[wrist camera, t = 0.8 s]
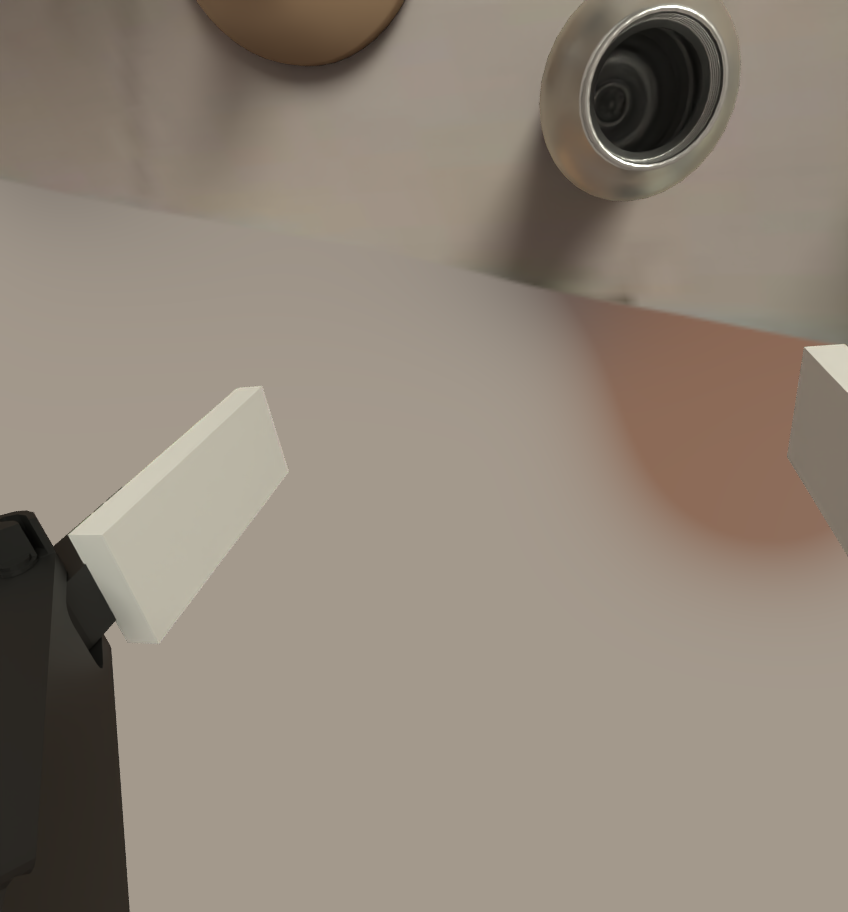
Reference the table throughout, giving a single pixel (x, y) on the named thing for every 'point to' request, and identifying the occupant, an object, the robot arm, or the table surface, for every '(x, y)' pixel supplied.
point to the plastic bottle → (638, 93)
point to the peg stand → (302, 27)
